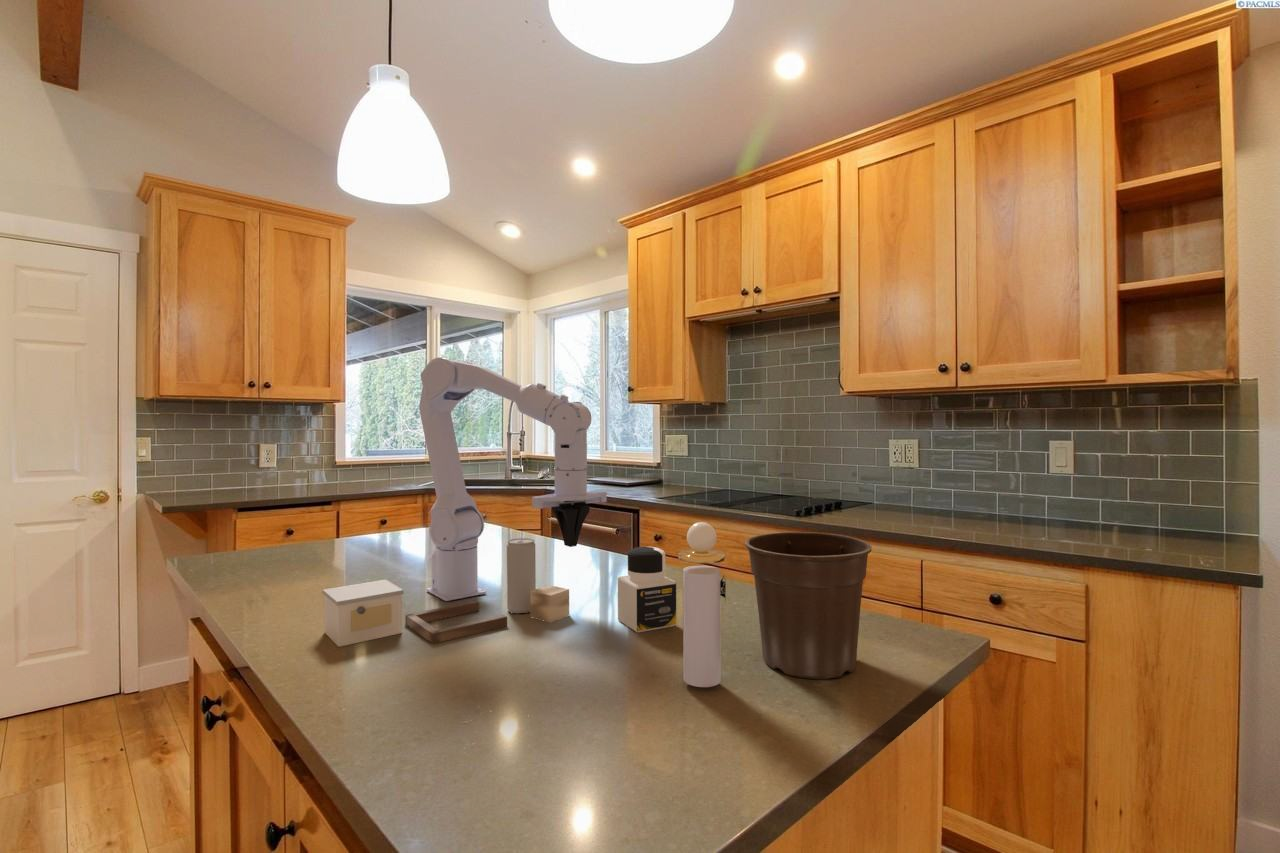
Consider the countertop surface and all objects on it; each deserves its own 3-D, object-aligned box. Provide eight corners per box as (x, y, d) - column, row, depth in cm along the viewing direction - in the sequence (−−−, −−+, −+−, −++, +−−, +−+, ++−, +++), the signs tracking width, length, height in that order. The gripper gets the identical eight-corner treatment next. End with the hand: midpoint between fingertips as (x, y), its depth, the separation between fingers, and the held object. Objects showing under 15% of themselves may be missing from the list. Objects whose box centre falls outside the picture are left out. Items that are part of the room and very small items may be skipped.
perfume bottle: (697, 700, 71) (697, 527, 71) (669, 682, 76) (668, 521, 76) (735, 688, 74) (735, 523, 74) (705, 672, 79) (705, 517, 79)
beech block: (530, 618, 101) (530, 591, 101) (549, 611, 105) (549, 585, 105) (550, 623, 98) (550, 595, 98) (569, 616, 102) (569, 589, 102)
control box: (322, 632, 94) (322, 589, 94) (385, 619, 100) (385, 579, 100) (338, 648, 87) (337, 602, 87) (404, 633, 93) (404, 590, 93)
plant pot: (758, 688, 74) (757, 555, 74) (736, 640, 90) (736, 531, 90) (892, 687, 74) (892, 554, 74) (846, 640, 90) (846, 531, 90)
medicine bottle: (637, 633, 93) (636, 555, 93) (617, 620, 100) (616, 546, 100) (677, 626, 97) (677, 550, 97) (655, 613, 103) (655, 542, 103)
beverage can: (538, 606, 107) (538, 538, 107) (531, 615, 102) (530, 543, 102) (512, 605, 108) (511, 537, 107) (503, 614, 103) (502, 543, 103)
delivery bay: (405, 624, 98) (405, 615, 98) (475, 609, 106) (475, 600, 106) (432, 643, 89) (432, 633, 89) (507, 626, 97) (507, 616, 97)
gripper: (547, 473, 101) (547, 554, 101) (616, 468, 111) (616, 543, 111) (526, 470, 107) (526, 548, 107) (594, 466, 116) (593, 538, 116)
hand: (570, 545), depth 109 cm, fingers closed
